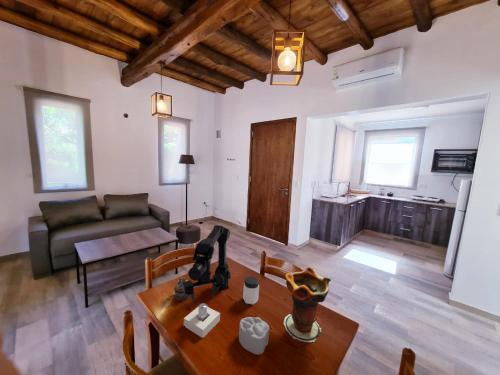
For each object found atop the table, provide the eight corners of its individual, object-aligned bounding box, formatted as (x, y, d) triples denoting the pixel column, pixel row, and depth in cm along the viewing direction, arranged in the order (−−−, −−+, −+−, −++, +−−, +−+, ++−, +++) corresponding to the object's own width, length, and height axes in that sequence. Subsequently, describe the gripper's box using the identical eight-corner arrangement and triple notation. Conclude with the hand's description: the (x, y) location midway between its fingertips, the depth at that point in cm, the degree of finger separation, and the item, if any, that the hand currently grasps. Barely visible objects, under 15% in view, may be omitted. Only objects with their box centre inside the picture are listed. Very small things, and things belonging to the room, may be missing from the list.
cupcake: (192, 299, 114) (193, 283, 113) (174, 303, 110) (174, 286, 109) (190, 289, 123) (191, 274, 122) (173, 292, 119) (173, 276, 118)
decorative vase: (333, 325, 102) (338, 273, 97) (310, 356, 85) (315, 296, 81) (297, 303, 116) (300, 257, 112) (272, 326, 100) (274, 274, 96)
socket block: (201, 310, 106) (201, 303, 106) (219, 320, 100) (220, 313, 100) (183, 326, 96) (183, 318, 95) (202, 338, 90) (203, 329, 89)
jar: (241, 296, 120) (242, 277, 118) (253, 293, 123) (255, 274, 122) (246, 306, 112) (248, 285, 110) (260, 303, 115) (261, 283, 113)
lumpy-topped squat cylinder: (260, 357, 83) (261, 338, 82) (233, 342, 89) (234, 324, 88) (270, 339, 92) (271, 321, 91) (245, 326, 98) (246, 310, 97)
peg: (204, 319, 101) (205, 302, 100) (207, 324, 97) (208, 307, 96) (196, 321, 99) (197, 304, 98) (199, 327, 95) (199, 310, 94)
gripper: (216, 257, 106) (215, 285, 108) (179, 264, 97) (179, 295, 99) (225, 267, 97) (223, 298, 99) (185, 276, 87) (184, 310, 89)
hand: (202, 299), depth 97 cm, fingers open, 9 cm apart
